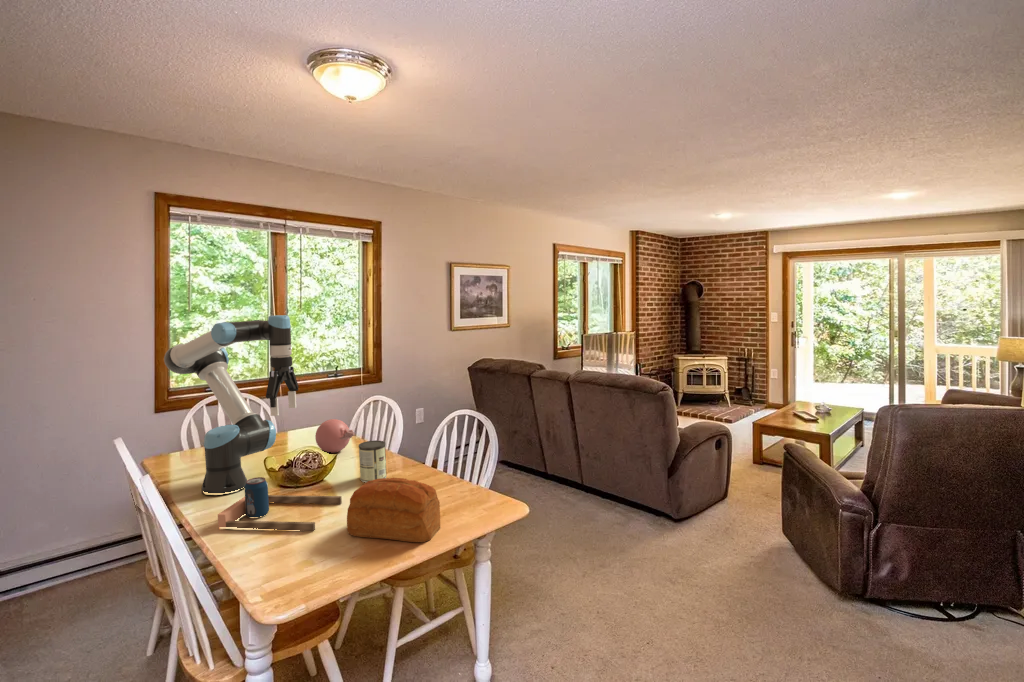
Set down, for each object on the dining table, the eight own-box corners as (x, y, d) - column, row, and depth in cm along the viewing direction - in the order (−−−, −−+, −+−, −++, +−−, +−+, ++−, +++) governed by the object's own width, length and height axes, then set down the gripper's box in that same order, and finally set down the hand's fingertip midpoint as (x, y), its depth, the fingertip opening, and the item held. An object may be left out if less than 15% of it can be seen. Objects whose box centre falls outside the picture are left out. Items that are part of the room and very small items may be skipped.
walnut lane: (226, 530, 164) (225, 522, 164) (264, 502, 186) (264, 495, 186) (313, 531, 162) (313, 523, 162) (341, 503, 184) (341, 496, 184)
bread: (425, 547, 151) (423, 493, 150) (341, 538, 157) (339, 487, 156) (445, 523, 167) (443, 474, 166) (368, 516, 173) (366, 469, 172)
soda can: (269, 509, 179) (268, 475, 178) (268, 517, 173) (266, 482, 172) (247, 513, 177) (245, 478, 176) (245, 521, 170) (242, 485, 169)
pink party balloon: (341, 460, 233) (339, 426, 232) (308, 454, 242) (307, 421, 241) (365, 450, 247) (364, 418, 245) (333, 445, 256) (332, 414, 254)
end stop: (218, 530, 164) (217, 514, 164) (257, 501, 186) (257, 488, 186) (226, 530, 164) (225, 514, 163) (264, 502, 186) (263, 488, 186)
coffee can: (365, 474, 214) (364, 440, 213) (390, 474, 213) (389, 440, 212) (355, 482, 204) (354, 447, 203) (381, 483, 203) (380, 447, 202)
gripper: (273, 360, 186) (276, 419, 188) (305, 352, 211) (308, 404, 212) (253, 360, 186) (256, 419, 188) (287, 352, 211) (290, 404, 213)
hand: (284, 411), depth 200 cm, fingers open, 13 cm apart
